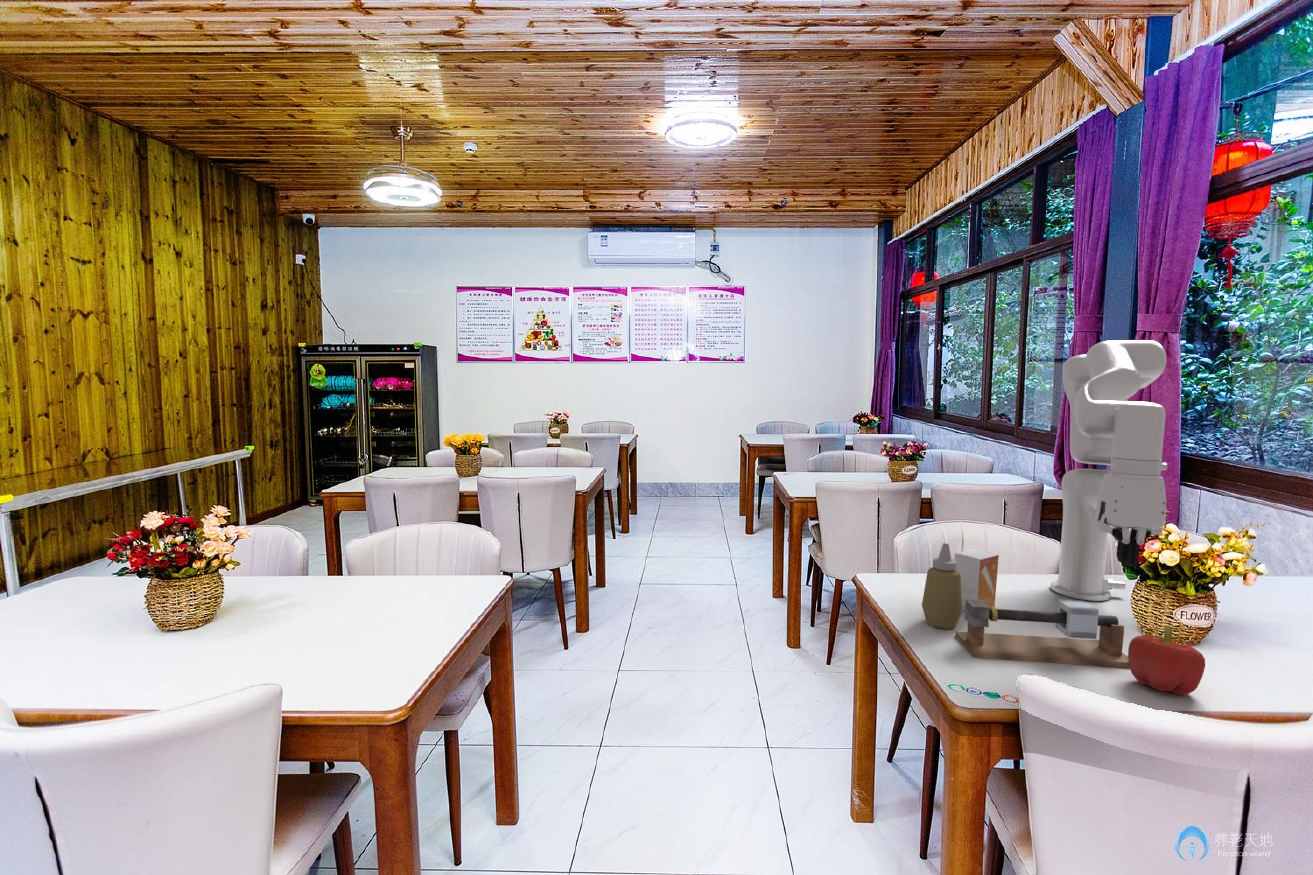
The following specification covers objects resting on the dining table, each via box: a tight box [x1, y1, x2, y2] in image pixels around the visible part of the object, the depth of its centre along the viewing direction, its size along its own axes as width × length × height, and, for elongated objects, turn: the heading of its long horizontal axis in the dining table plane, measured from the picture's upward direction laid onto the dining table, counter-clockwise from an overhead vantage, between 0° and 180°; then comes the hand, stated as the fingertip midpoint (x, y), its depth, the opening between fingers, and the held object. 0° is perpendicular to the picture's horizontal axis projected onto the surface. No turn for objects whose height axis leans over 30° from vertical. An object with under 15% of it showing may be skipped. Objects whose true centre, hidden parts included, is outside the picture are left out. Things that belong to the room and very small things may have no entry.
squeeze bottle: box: [921, 542, 963, 630], centre depth 134 cm, size 8×8×18 cm
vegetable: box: [1127, 624, 1206, 696], centre depth 108 cm, size 11×10×10 cm
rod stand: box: [955, 599, 1130, 669], centre depth 122 cm, size 29×10×9 cm, turn 83°
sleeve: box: [1055, 599, 1100, 640], centre depth 121 cm, size 5×5×6 cm
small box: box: [954, 548, 1000, 611], centre depth 145 cm, size 8×6×13 cm
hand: (1126, 562), depth 118 cm, fingers closed
